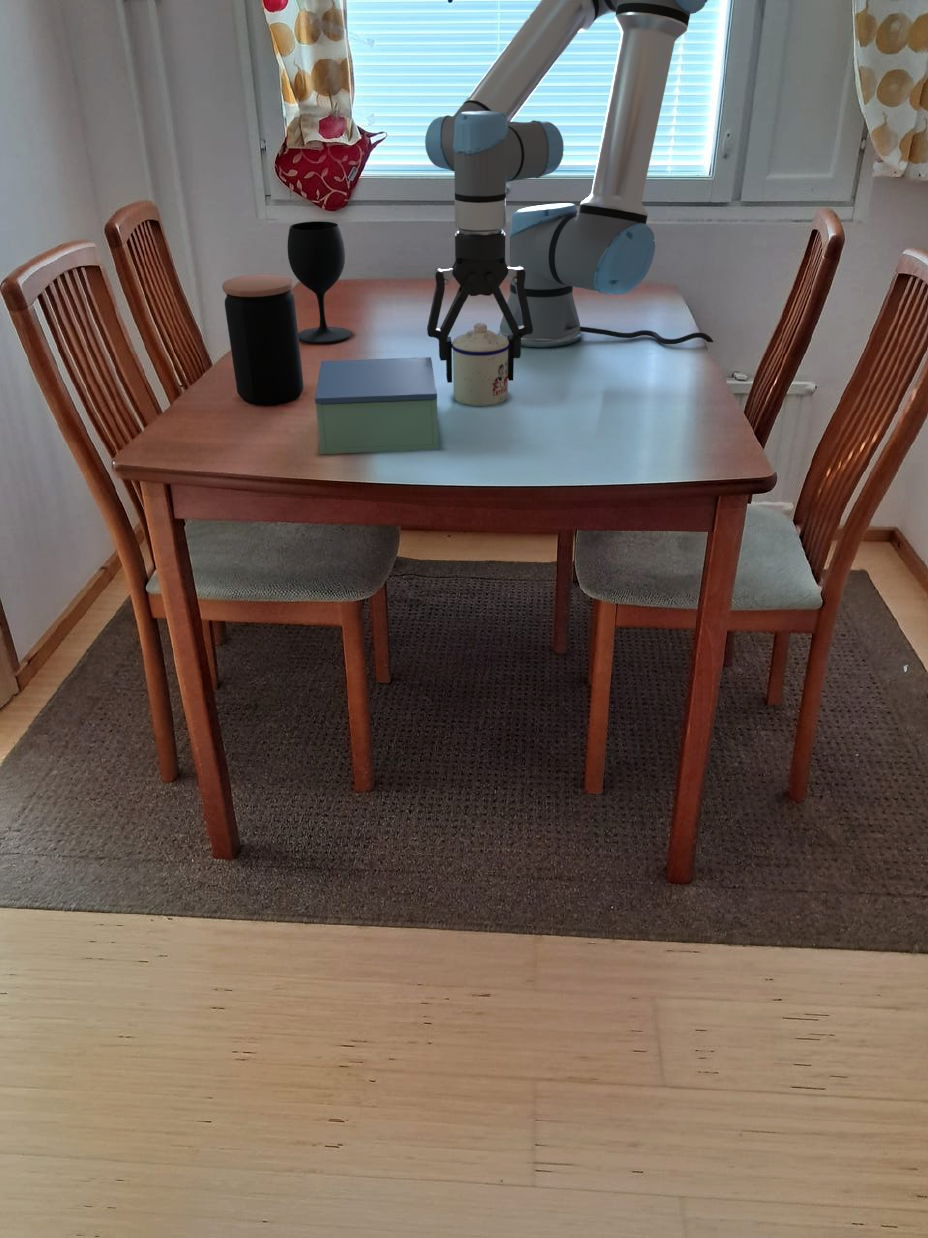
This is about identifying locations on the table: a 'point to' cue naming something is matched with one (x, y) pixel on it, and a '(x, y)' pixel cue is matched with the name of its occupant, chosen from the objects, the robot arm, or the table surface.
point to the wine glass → (318, 270)
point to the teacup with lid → (480, 367)
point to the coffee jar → (264, 339)
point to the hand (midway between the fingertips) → (479, 378)
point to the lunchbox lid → (376, 380)
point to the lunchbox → (378, 426)
